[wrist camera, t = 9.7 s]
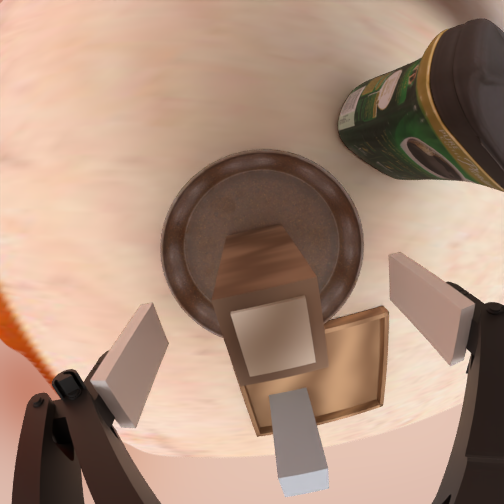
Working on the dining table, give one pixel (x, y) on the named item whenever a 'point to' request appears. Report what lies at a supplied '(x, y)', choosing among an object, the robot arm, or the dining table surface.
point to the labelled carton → (269, 307)
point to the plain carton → (297, 444)
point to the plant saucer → (260, 226)
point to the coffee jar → (435, 111)
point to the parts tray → (334, 373)
